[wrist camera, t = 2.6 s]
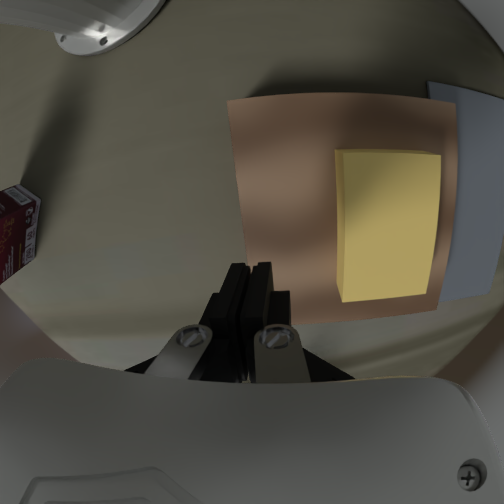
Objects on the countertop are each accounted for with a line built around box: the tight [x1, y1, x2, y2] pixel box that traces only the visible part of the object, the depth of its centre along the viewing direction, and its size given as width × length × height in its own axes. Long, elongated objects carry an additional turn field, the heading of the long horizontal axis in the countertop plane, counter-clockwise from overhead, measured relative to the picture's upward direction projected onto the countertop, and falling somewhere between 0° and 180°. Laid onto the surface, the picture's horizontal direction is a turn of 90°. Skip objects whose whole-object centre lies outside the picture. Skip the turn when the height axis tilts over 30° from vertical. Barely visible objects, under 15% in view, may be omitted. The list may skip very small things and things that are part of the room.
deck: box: [227, 93, 458, 325], centre depth 19 cm, size 16×15×4 cm
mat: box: [426, 81, 504, 302], centre depth 19 cm, size 20×10×1 cm, turn 6°
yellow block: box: [335, 149, 441, 302], centre depth 16 cm, size 9×6×2 cm, turn 6°
